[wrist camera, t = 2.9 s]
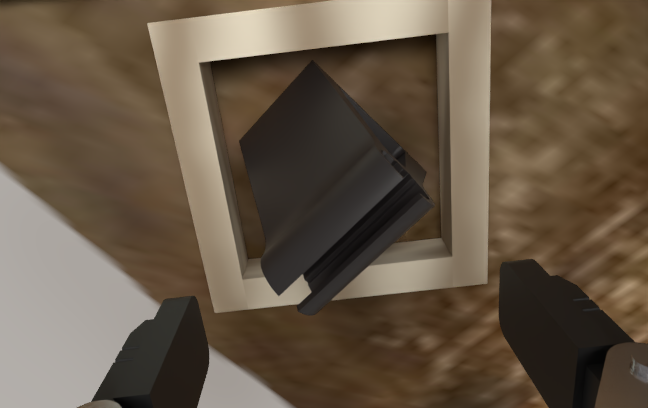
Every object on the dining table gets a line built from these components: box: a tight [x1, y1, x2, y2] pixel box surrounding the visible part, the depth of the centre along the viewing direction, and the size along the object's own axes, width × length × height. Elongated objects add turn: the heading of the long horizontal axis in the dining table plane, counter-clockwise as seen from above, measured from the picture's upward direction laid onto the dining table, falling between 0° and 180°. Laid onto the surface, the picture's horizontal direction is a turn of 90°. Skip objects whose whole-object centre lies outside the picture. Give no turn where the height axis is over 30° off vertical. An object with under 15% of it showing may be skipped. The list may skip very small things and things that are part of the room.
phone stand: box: [239, 60, 435, 315], centre depth 21 cm, size 9×6×12 cm, turn 46°
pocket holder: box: [147, 0, 491, 313], centre depth 26 cm, size 16×16×2 cm
